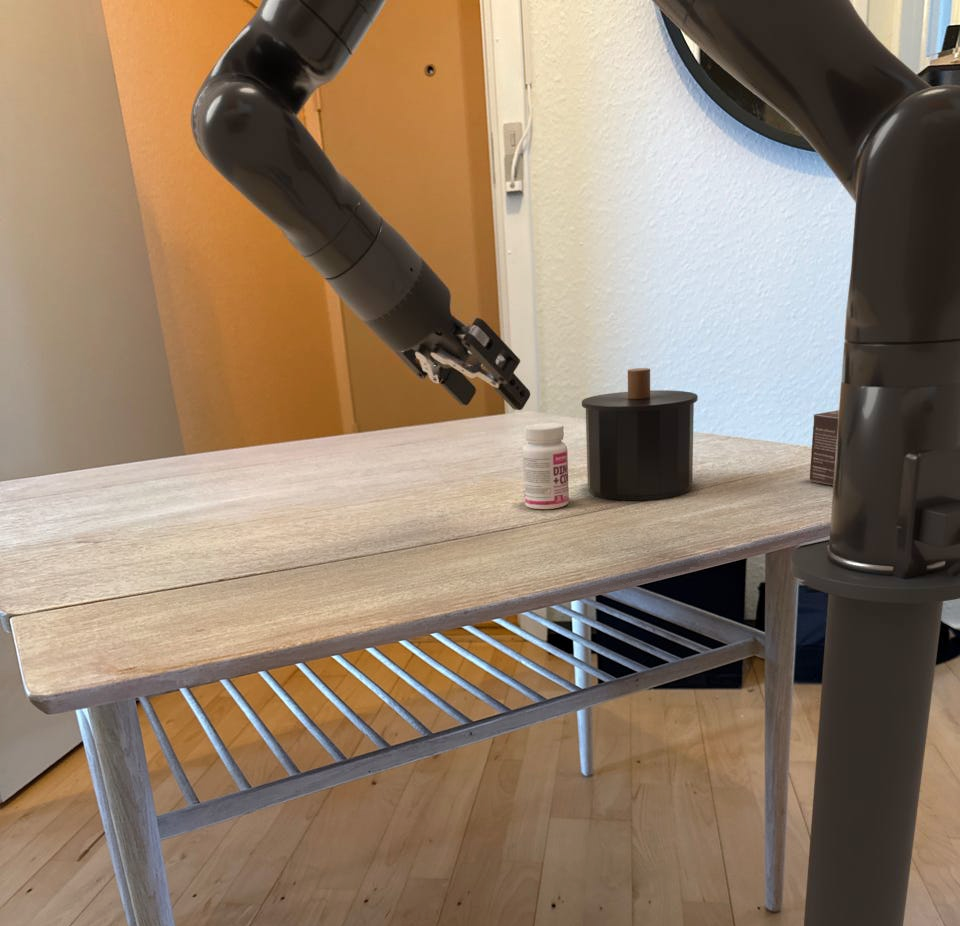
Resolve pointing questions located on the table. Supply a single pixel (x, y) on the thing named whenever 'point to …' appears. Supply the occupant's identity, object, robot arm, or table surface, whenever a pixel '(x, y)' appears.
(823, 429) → the box
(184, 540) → the table surface
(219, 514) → the table surface
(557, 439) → the pill bottle
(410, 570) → the table surface
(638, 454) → the pot
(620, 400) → the pot lid
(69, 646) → the table surface
